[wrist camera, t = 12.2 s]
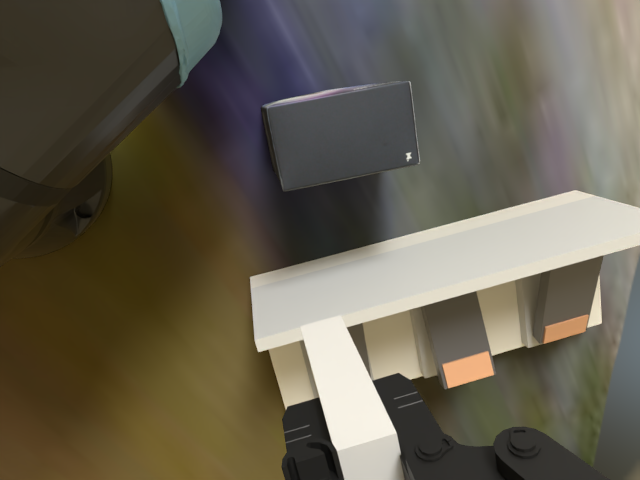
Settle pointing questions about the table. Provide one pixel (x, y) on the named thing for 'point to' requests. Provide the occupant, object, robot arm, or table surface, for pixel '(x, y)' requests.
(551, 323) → the switch
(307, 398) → the switch unit
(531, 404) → the table surface
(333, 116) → the small box
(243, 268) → the table surface
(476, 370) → the switch
